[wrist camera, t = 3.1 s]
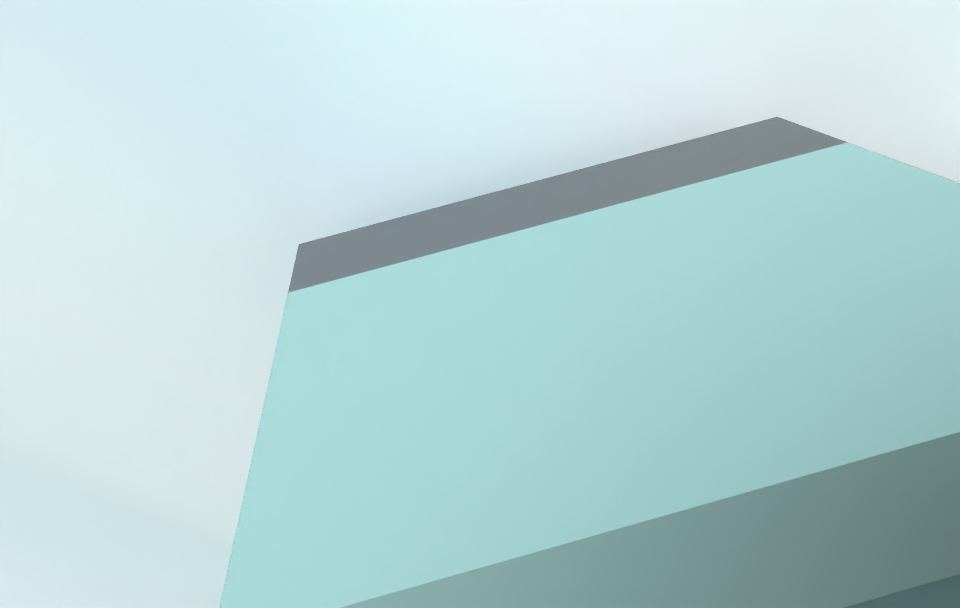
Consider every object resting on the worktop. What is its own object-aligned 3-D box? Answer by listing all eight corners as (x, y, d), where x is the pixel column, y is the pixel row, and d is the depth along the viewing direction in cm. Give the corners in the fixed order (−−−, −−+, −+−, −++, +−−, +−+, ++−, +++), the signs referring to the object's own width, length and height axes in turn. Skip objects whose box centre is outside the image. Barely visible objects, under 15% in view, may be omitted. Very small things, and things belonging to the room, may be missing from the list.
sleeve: (801, 498, 12) (1170, 940, 7) (425, 604, 12) (482, 1155, 6) (776, 117, 9) (1342, 323, 4) (298, 244, 9) (211, 643, 4)
